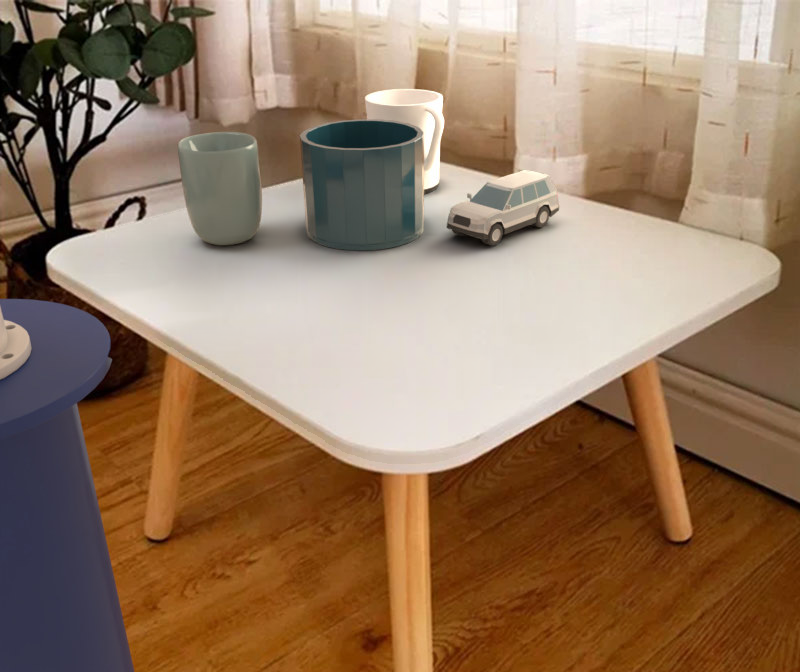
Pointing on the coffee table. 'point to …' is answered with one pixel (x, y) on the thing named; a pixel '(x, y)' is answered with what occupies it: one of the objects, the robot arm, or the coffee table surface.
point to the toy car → (505, 206)
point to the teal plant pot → (363, 183)
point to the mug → (414, 121)
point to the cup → (222, 185)
